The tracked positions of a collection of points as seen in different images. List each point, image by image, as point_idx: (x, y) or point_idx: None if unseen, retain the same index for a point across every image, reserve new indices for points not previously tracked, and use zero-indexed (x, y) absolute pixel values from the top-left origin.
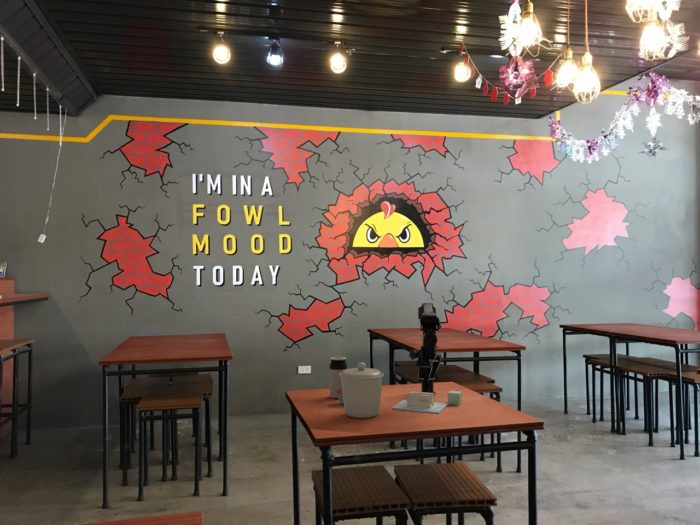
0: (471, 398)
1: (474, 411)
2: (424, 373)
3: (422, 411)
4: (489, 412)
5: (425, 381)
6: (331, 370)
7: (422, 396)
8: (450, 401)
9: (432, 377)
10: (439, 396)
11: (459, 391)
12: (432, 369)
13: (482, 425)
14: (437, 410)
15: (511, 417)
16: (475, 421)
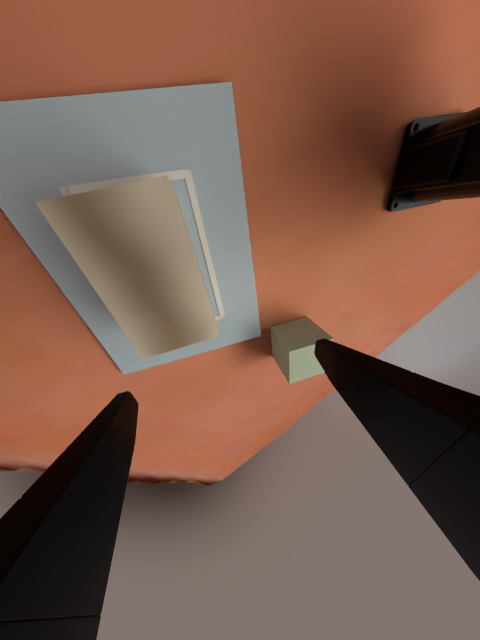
0: (362, 340)
1: (226, 408)
2: (19, 538)
3: (87, 321)
4: (236, 426)
5: (117, 400)
6: None
7: (120, 319)
8: (275, 339)
9: (318, 350)
10: (377, 245)
11: None
12: (388, 412)
13: None
14: (142, 360)
15: (221, 458)
16: (135, 451)
